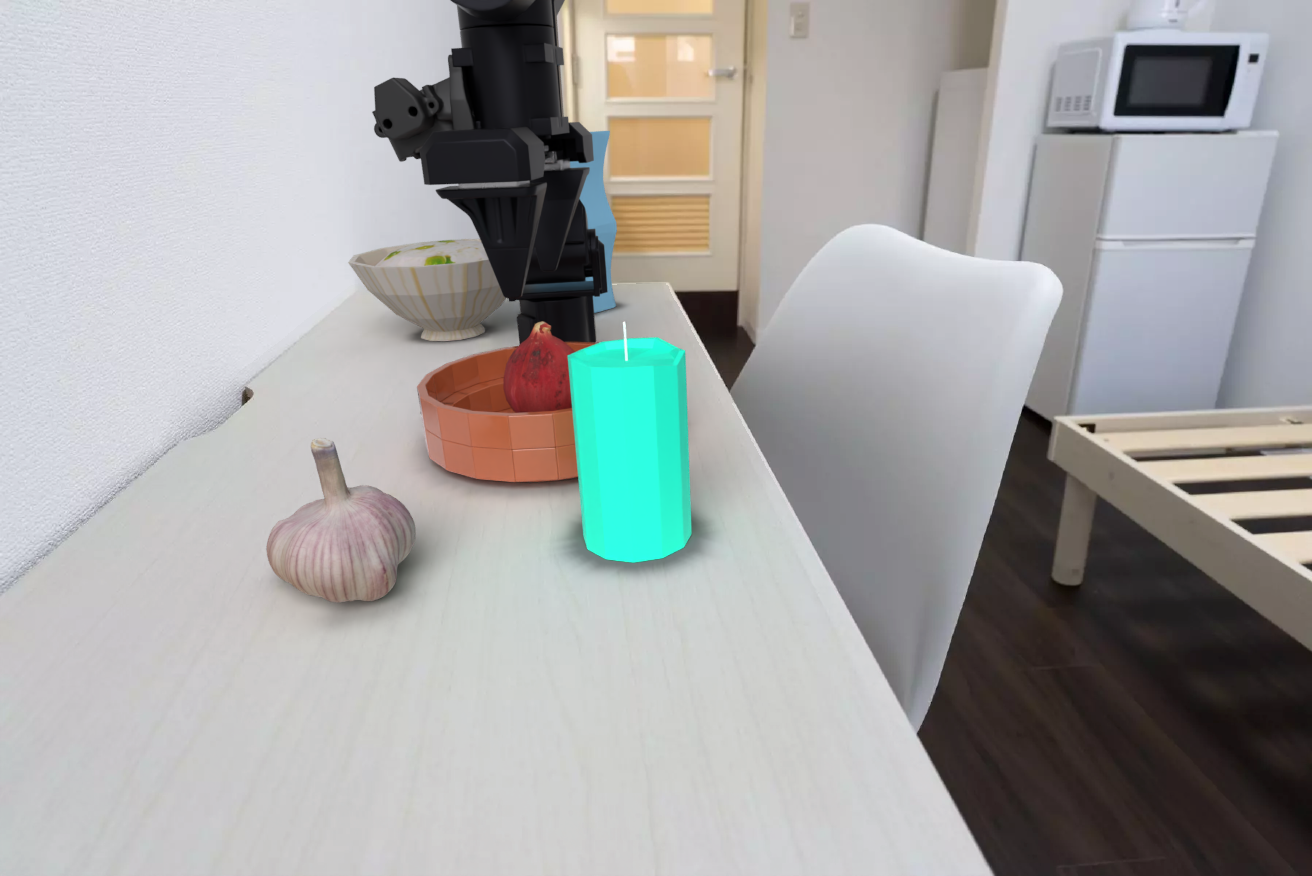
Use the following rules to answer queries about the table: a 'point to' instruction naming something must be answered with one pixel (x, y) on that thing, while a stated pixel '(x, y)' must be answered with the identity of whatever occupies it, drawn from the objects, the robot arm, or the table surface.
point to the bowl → (434, 285)
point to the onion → (538, 373)
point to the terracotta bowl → (493, 424)
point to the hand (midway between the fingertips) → (532, 283)
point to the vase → (599, 212)
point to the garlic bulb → (342, 537)
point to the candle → (632, 447)
